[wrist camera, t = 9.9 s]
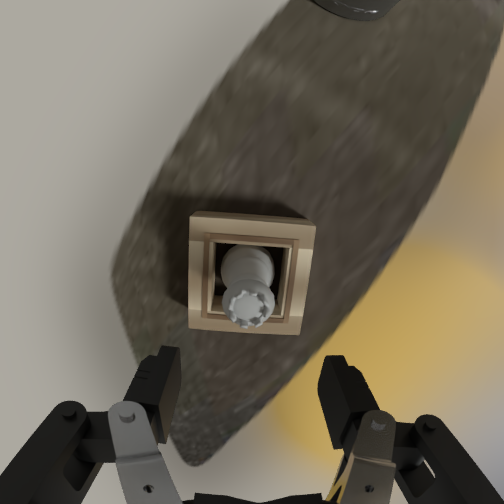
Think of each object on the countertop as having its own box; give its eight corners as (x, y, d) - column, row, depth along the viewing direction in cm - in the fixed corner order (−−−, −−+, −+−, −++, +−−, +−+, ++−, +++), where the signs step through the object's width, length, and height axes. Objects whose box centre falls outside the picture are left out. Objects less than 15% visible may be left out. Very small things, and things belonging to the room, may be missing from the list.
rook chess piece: (212, 278, 25) (199, 325, 17) (234, 232, 24) (229, 262, 16) (260, 299, 26) (265, 351, 18) (283, 254, 25) (300, 293, 17)
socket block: (196, 210, 23) (189, 216, 20) (307, 219, 24) (316, 226, 21) (194, 311, 26) (188, 328, 23) (294, 317, 26) (299, 335, 23)
